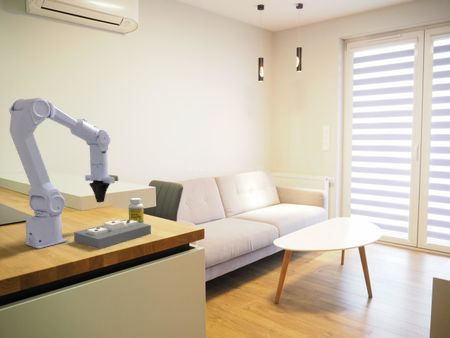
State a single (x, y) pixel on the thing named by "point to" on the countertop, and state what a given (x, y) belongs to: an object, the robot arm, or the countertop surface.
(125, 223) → the tile three
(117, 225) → the tile one
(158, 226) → the countertop surface
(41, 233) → the robot arm
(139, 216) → the supplement bottle
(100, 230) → the tile two
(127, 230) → the button board
